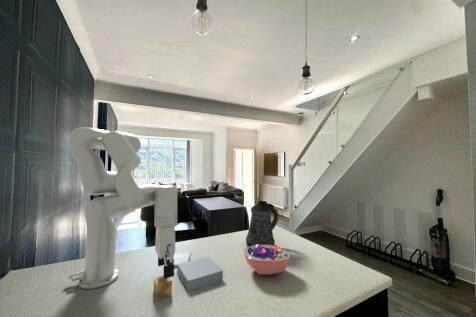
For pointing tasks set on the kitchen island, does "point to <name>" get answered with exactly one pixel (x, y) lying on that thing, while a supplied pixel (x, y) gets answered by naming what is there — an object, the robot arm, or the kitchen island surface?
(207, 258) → the slate base
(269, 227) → the beer stein
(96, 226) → the robot arm
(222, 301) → the kitchen island surface
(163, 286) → the amber block
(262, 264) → the cell model
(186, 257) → the hard drive
